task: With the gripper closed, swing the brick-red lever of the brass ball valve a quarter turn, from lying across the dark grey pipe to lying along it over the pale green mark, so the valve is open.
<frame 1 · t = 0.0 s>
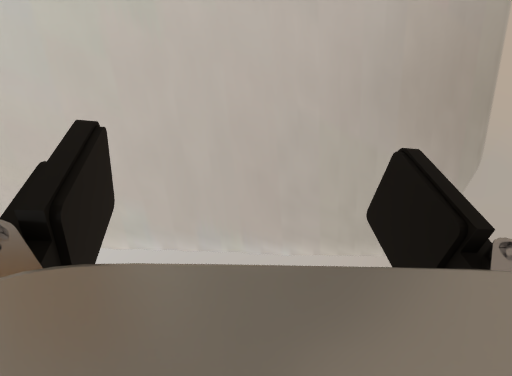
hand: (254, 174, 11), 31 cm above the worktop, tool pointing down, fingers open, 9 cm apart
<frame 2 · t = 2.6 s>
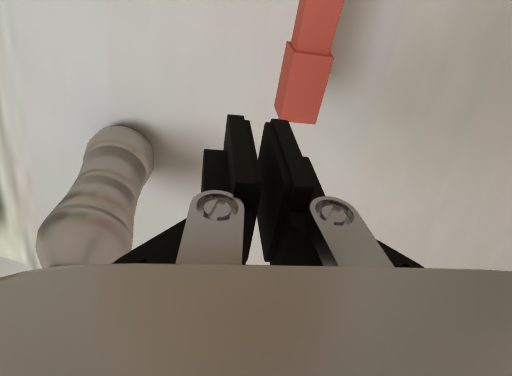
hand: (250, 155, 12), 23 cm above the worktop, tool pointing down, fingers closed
plastic bottle: (125, 145, 37), on the worktop
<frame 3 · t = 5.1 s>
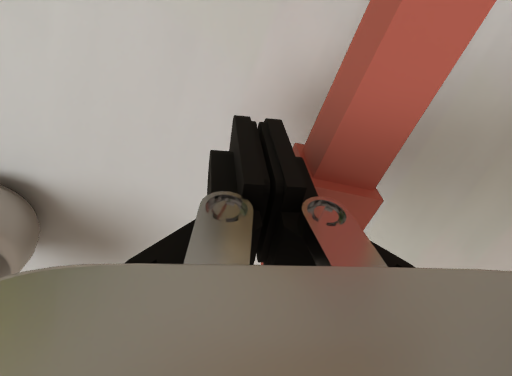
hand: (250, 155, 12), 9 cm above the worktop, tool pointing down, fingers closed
lever: (396, 60, 10), point 9 cm above the worktop, hinge at 3.4°, touching gripper
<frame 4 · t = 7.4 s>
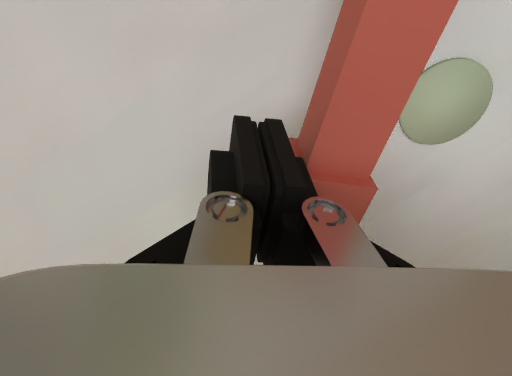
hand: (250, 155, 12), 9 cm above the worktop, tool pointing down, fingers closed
lever: (377, 48, 10), point 9 cm above the worktop, hinge at 48.4°, touching gripper
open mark: (442, 102, 22), on the worktop
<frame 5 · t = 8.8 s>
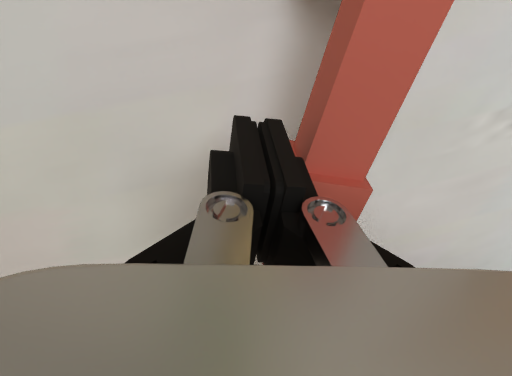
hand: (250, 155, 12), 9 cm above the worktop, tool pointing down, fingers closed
lever: (372, 52, 11), point 9 cm above the worktop, hinge at 72.8°, touching gripper
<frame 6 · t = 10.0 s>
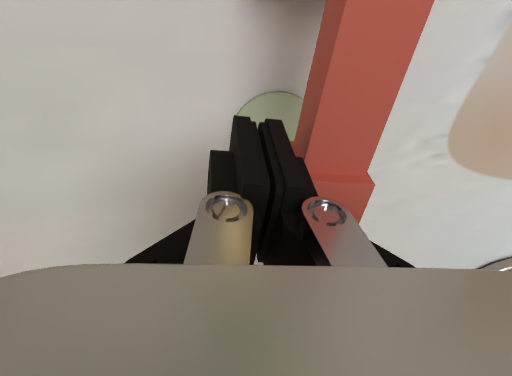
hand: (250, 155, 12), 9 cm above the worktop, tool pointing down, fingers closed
lever: (362, 47, 11), point 9 cm above the worktop, hinge at 90.8°, touching gripper
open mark: (274, 133, 22), on the worktop
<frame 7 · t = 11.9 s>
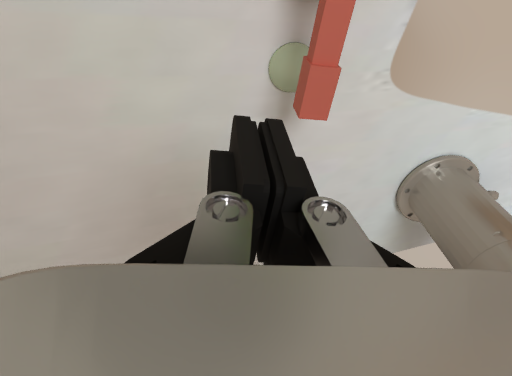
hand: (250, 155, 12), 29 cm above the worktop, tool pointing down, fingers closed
lever: (334, 11, 28), point 9 cm above the worktop, hinge at 90.9°
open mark: (292, 67, 40), on the worktop
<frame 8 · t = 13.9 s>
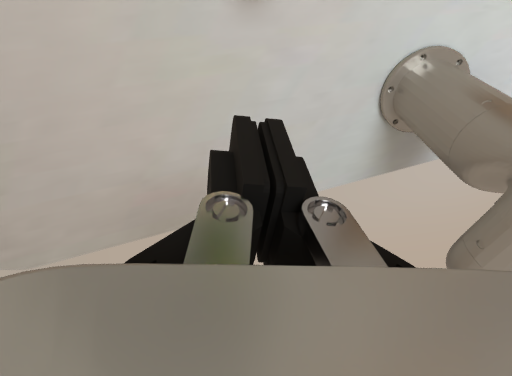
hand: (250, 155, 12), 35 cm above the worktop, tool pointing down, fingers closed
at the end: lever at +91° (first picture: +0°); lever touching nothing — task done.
